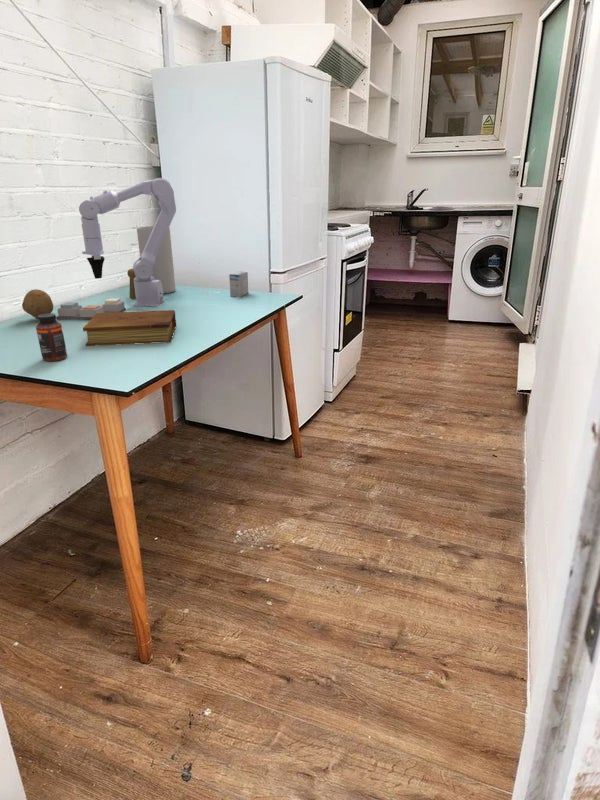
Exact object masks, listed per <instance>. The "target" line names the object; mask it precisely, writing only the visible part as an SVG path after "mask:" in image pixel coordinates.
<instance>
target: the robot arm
mask: <svg viewBox="0 0 600 800" xmlns="http://www.w3.org/2000/svg"><path fill="white" fill-rule="evenodd" d="M140 195H147V196H148V195H149V196H152V195H153V196H154V197H155V198H156V200H157V203H158V205H159V207H160V212H159V215H158V216H157V218H156V221H155V224H154V228H153V230H152V232H151V234H150V237H149V239H148V241H147V244H146V246H145V248H144V250H143V252H142V254H141V256H140V255H139V257H138V259H136V260H135V261H134V263H133V264H132V265H133V266H132V269H133V270H134V273H135V275H136V277H135V278H134V287H135V295H136V299H135V301H136V302H134V303H133V304H132V306H133V307H159V306H160V305H162V304H164V303H165V299H164V297H165V296H164V294H163V288H162V283H161V281H160V280H155V279H154V277H153V276H152V274H153V265H154V262H155V258H156V256H157V253H158V251H159V249H160V247H161V244H162V242H163V240H164V238H165V235H166V233H167V231H168V228H169V227H171V224H172V222H173V220H174V217H175V215H176V212H177V207H176V205H177V204H176V200H175V191H174V189H173V186H172V185H171V183H170V182H169V181H168V180H167V179H165V178H164V177H158V178H154V179H150V180H146V181H141V182H139V183H136V184H134V185H132V186H130V187H127V188H125V189H123V190H121V191H117V192H115V191H113V190H108V191H107V190H104V191H102V194H98V195H96V196H94V197H93V196H90V197H89V199H86V200H84V201H82V202H81V203H80V204H79V206H78V211H79V213H80V215H81V216H80V217H81V218H80V221H81V229H82V230H81V231H82V236H83V241H84V249H85V250H83V251H82V252H81V253H82V255H88V256H91V257H86V260H87V261H88V264H89V265H90V267H91V271H92V274H93V276H94V279H96V280H97V279H102V278H103V268H104V267H103V265H104V262H105V259H106V258H105V257H104V256H103V255H104V254H105V251H104V247H103V240H102V233H101V225H100V223H99V217H98V214H99V215H103V214H105V213H109V212H111V211H113V210H116V209H118V208H119V207H120V205H121V203H122V202H124V201H127V200H129V199H132V198H136V197H138V196H140ZM101 255H102V256H101Z"/></svg>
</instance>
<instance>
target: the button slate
mask: <svg viewBox="0 0 600 800" xmlns="http://www.w3.org/2000/svg"><path fill="white" fill-rule="evenodd" d="M78 305H79V304H78V302H70V301H69V302H67V301H66V302H65V303H62V304H60V305H59V306H60V307H61V309H73V308H75V307H78Z"/></svg>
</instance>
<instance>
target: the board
mask: <svg viewBox="0 0 600 800" xmlns="http://www.w3.org/2000/svg"><path fill="white" fill-rule="evenodd" d="M83 308H84V307H83V306H82V305H80V304H78V307H75V308H73V309H61V306H60V307H58V308H57V316H56V320H87V321H90V320H91V319H92V318H93V317H94V316H95V315H96V314H97V313H113V312H127V308H126V306H125V301H123V300H121V302H120V303H118V304H105V302H103V303H101V305H100V307H99V308H97V309H95V310H93V309H83Z"/></svg>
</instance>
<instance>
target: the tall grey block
mask: <svg viewBox="0 0 600 800" xmlns="http://www.w3.org/2000/svg"><path fill="white" fill-rule="evenodd" d="M170 227H171V226H169V228H168V231H167V233H166V235H165V238H164V240H163V242H162V244H161V247H160V249H159V251H158V253H157V256H156V258H155V262H154V265H153V274H152V276H153V277H154V279H155V280H160V281H161V283H162V288H163V293H167V294H171V293H174V292H175V291H176V281H175V280H176V279H175V270H174V269H175V268H174V267H175V266H174V259H173V249H172V247H173V246H172V236H171V228H170ZM153 228H154V226H153V225H152V226H140V227H136V234H137V242H138V251H139V257H140V256H141V254H142V252H143V250H144V248H145V246H146V244H147V241H148V239H149V237H150V234H151V232H152V230H153ZM170 292H171V293H170Z"/></svg>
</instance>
